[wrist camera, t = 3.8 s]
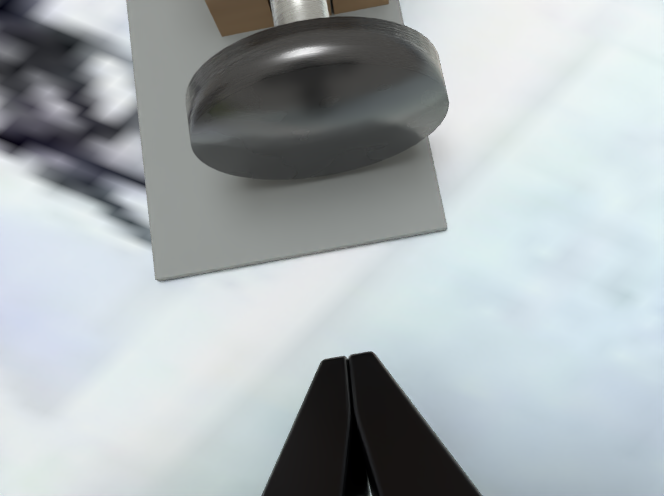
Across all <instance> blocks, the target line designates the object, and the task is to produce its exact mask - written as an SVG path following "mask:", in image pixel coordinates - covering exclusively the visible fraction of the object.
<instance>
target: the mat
mask: <svg viewBox="0 0 664 496" xmlns="http://www.w3.org/2000/svg"><path fill="white" fill-rule="evenodd" d="M126 2H127V11H128V21H129V31H130V40H131V50H132V60H133V69H134V79H135V88H136V98H137V108H138V117H139V127H140V137H141V146H142V156H143V165H144V175H145V185H146V194H147V204H148V213H149V223H150V233H151V242H152V252H153V262H154V271H155V280H157V281H165V280H170V279H176V278H181V277H187V276H192V275H198V274H204V273H209V272H215V271H220V270H226V269H232V268H237V267H243V266H248V265H254V264H259V263H265V262H271V261H276V260H282V259H287V258H293V257H298V256H304V255H310V254H315V253H321V252H326V251H332V250H338V249H343V248H349V247H354V246H360V245H365V244H371V243H377V242H382V241H388V240H393V239H399V238H404V237H410V236H416V235H421V234H427V233H432V232H438V231H444V230H446V229H447V223H446V219H445V214H444V209H443V205H442V200H441V195H440V191H439V186H438V181H437V177H436V172H435V167H434V163H433V158H432V153H431V149H430V144H429V139H428V136H427V137H426V138H425V139H423V140H422V141H420V142H419V143H417V144H416V145H414V146H412V147H410V148H409V149H407V150H405V151H403V152H401V153H399V154H397V155H395V156H392V157H390V158H387V159H385V160H382V161H380V162H377V163H374V164H371V165H368V166H365V167H361V168H358V169H354V170H350V171H346V172H342V173H337V174H332V175H326V176H320V177H312V178H304V179H289V180H264V179H252V178H245V177H239V176H234V175H230V174H226V173H223V172H220V171H217V170H215V169H213V168H211V167H209V166H207V165H206V164H204V163H203V162H201V161H200V160H199V159H198V158H197V157H196V155H195V154H194V152H193V151H192V147H191V143H190V135H189V127H188V119H187V111H186V102H185V101H186V91H187V87H188V84H189V82H190V81H191V79H192V77H193V75H194V74H195V73H196V72H197V70H198V69H199V68H200V67H201V66H202V65H203V64H204V63H205V62H206V61H207V60H209V59H210V58H211V57H212V56H214V55H215V54H217V53H218V52H219V51H221V50H222V49H224V48H226V47H227V46H229V45H231V44H233V43H235V42H237V41H239V40H240V39H243V38H245V37H248V36H250V35H252V34H255V33H257V32H260V31H263V30H266V29H269V28H272V27H269V28H264V29H259V30H254V31H249V32H244V33H239V34H234V35H229V36H224V37H222V36H221V34H220V32H219V30H218V27H217V25H216V23H215V21H214V19H213V17H212V15H211V13H210V11H209V9H208V6H207V4H206V2H205V0H126ZM330 6H331V14H332V15H330V16H329V17H337V16H357V17H368V18H377V19H382V20H387V21H392V22H396V23H399V24H402V25H404V23H403V18H402V13H401V9H400V4H399V0H389V4H386V5H381V6H376V7H371V8H366V9H361V10H356V11H351V12H345V13H340V14H335V15H334V10H333V5H332V0H330Z"/></svg>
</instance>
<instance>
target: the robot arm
mask: <svg viewBox="0 0 664 496" xmlns="http://www.w3.org/2000/svg"><path fill="white" fill-rule="evenodd" d="M369 485H370V488H369ZM370 489H371V493H372V496H482V495H481V493H480V492H479V491H478V489H477V488H476V487H475V485H474V484H473V483H472V481H471V480H470V479H469V477H468V476H467V475H466V473H465V472H464V471H463V469H462V468H461V467H460V465H459V464H458V463H457V461H456V460H455V459H454V458H453V456H452V455H451V454H450V452H449V451H448V450H447V448H446V447H445V446H444V444H443V443H442V442H441V440H440V439H439V438H438V436H437V435H436V434H435V432H434V431H433V430H432V428H431V427H430V426H429V424H428V423H427V422H426V420H425V419H424V418H423V417H422V415H421V414H420V413H419V411H418V410H417V409H416V407H415V406H414V405H413V403H412V402H411V401H410V399H409V398H408V397H407V395H406V394H405V393H404V391H403V390H402V389H401V387H400V386H399V385H398V383H397V382H396V381H395V380H394V378H393V377H392V376H391V374H390V373H389V372H388V370H387V369H386V368H385V366H384V365H383V364H382V362H381V361H380V360H379V358H378V357H377V356H376V355H375V354H374V353H373V352H364V353H358V354H352V355H350V356H349V358H348V359H347V358H346V357H345V356H340V357H334V358H329V359H324V360H323V361H321V363H320V365H319V367H318V369H317V372H316V374H315V376H314V378H313V381H312V383H311V385H310V387H309V390H308V392H307V394H306V396H305V399H304V401H303V403H302V405H301V408H300V410H299V412H298V414H297V417H296V419H295V421H294V423H293V426H292V428H291V430H290V432H289V435H288V437H287V439H286V441H285V444H284V446H283V448H282V450H281V453H280V455H279V457H278V459H277V462H276V464H275V466H274V468H273V471H272V473H271V475H270V477H269V480H268V482H267V484H266V487H265V489H264V491H263V493H262V496H370Z"/></svg>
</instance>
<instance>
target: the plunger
mask: <svg viewBox="0 0 664 496" xmlns="http://www.w3.org/2000/svg"><path fill="white" fill-rule="evenodd" d="M270 3H271V10H272V16H273V22H274V27H272V28H269V29H266V30H263V31H260V32H257V33H255V34H252V35H250V36H248V37H245V38H243V39H240V40H239V41H237V42H235V43H233V44H231V45H229V46H227V47H226V48H224V49H222V50H221V51H219V52H218V53H217V54H215V55H214V56H212V57H211V58H210V59H209V60H207V61H206V62H205V63H204V64H203V65H202V66H201V67H200V68H199V69H198V70H197V72H196V73H195V74H194V75H193V77H192V79H191V81H190V82H189V84H188V87H187V91H186V101H185V102H186V111H187V119H188V127H189V135H190V143H191V147H192V151H193V152H194V154H195V155H196V157H197V158H198V159H199V160H200V161H201V162H203V163H204V164H206V165H207V166H209V167H211V168H213V169H215V170H217V171H220V172H223V173H226V174H230V175H234V176H239V177H245V178H252V179H264V180H289V179H304V178H312V177H320V176H326V175H332V174H337V173H342V172H346V171H350V170H354V169H358V168H361V167H365V166H368V165H371V164H374V163H377V162H380V161H382V160H385V159H387V158H390V157H392V156H395V155H397V154H399V153H401V152H403V151H405V150H407V149H409V148H410V147H412V146H414V145H416V144H417V143H419V142H420V141H422V140H423V139H425V138H426V137H427V136H428V135H430V134H431V133H432V132H433V131H434V130H435V129H436V128H437V127H438V126H439V125H440V124H441V122H442V121H443V119H444V118H445V116H446V114H447V111H448V106H449V100H448V95H447V91H446V86H445V82H444V78H443V73H442V69H441V64H440V60H439V55H438V53H437V51H436V49H435V47H434V45H433V44H432V43H431V42H430V41H429V40H428V38H426V37H425V36H423V35H422V34H421V33H419V32H418V31H416V30H414V29H412V28H409V27H407V26H405V25H402V24H399V23H396V22H392V21H387V20H382V19H377V18H368V17H357V16H337V17H329V12H328V7H327V1H326V0H270Z"/></svg>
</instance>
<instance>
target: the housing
mask: <svg viewBox="0 0 664 496" xmlns="http://www.w3.org/2000/svg"><path fill="white" fill-rule="evenodd" d="M326 1H327V7H328V12H329V16H330V15H332V14H331V6H330V0H326ZM205 2H206V4H207V6H208V9H209V11H210V13H211V15H212V17H213V19H214V21H215V23H216V25H217V27H218V30H219V32H220V34H221V36H222V37H224V36H229V35H234V34H239V33H244V32H249V31H254V30H259V29H264V28H269V27H274V22H273V16H272V10H271V3H270V0H205ZM386 4H389V0H332V5H333V10H334V15H335V14H340V13H345V12H351V11H356V10H361V9H366V8H371V7H376V6H381V5H386Z"/></svg>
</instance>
